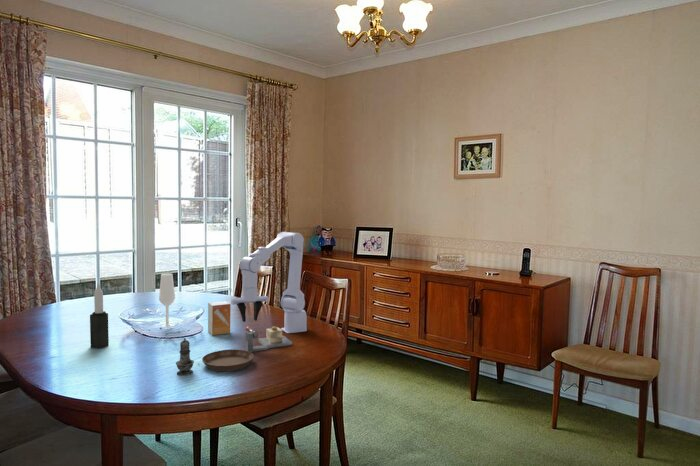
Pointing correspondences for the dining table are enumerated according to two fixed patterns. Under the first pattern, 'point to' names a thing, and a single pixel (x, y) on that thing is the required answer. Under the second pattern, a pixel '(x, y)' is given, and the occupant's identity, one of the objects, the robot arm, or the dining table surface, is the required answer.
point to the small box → (219, 317)
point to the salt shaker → (184, 359)
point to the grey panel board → (264, 343)
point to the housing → (274, 334)
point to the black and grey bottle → (99, 322)
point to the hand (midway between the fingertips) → (249, 320)
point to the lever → (255, 333)
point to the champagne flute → (167, 294)
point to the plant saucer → (227, 360)
